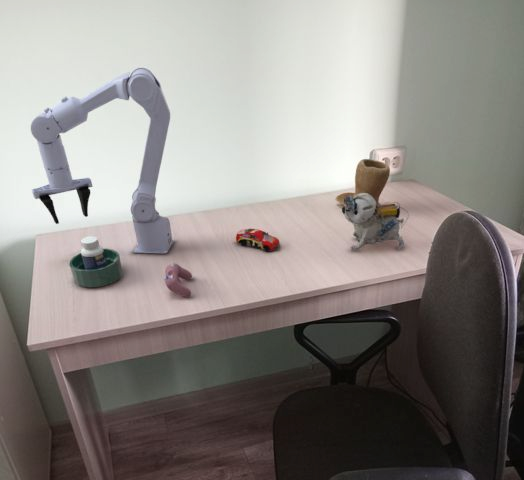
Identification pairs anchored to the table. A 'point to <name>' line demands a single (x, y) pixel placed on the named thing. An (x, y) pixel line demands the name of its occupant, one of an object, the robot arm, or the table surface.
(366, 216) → the robotic toy
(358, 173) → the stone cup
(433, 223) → the table surface
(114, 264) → the bowl
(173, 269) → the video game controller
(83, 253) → the pill bottle
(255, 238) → the race car
